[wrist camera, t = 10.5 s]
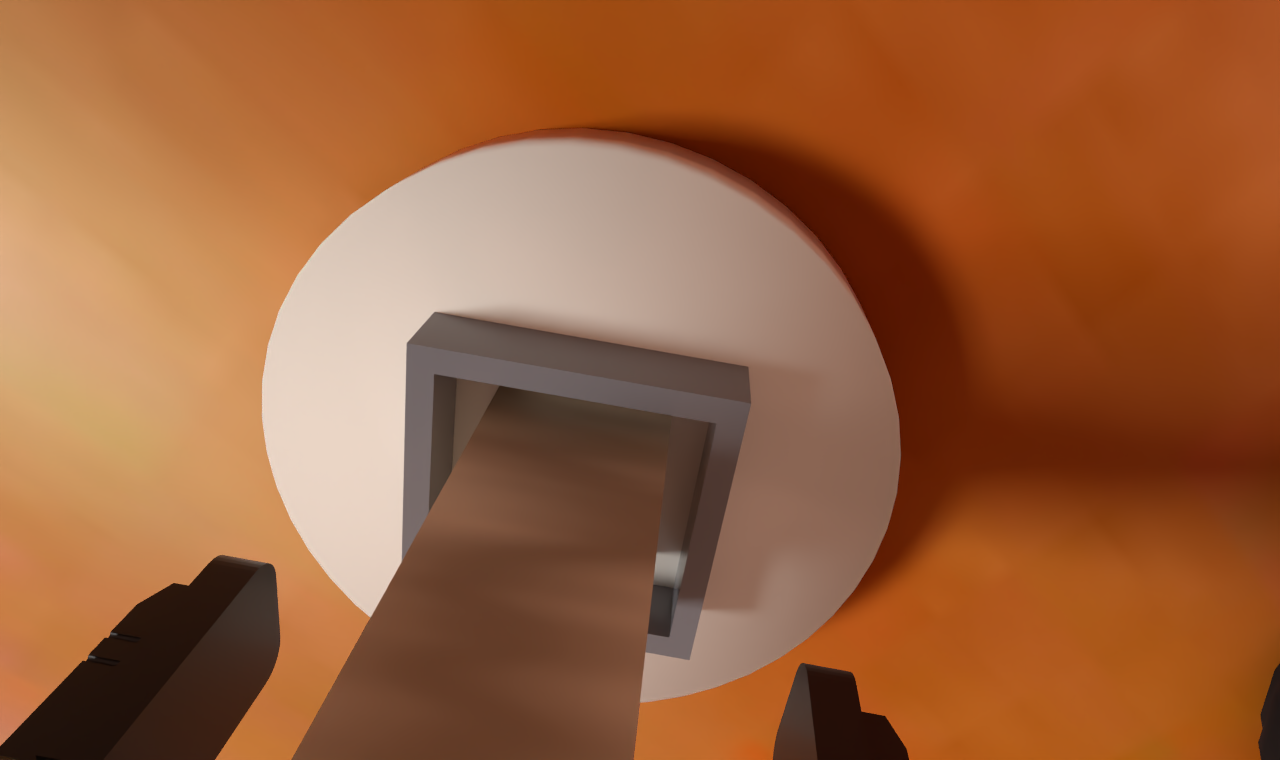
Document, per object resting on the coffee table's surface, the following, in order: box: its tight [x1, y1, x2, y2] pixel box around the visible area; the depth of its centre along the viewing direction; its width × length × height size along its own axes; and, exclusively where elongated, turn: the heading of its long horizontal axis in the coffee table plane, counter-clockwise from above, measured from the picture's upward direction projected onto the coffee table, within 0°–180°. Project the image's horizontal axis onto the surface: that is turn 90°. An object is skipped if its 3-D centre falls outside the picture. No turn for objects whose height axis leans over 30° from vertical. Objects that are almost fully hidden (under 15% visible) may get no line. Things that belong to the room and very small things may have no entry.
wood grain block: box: [292, 386, 672, 760], centre depth 12 cm, size 3×3×9 cm
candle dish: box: [262, 128, 901, 702], centre depth 17 cm, size 13×13×4 cm
